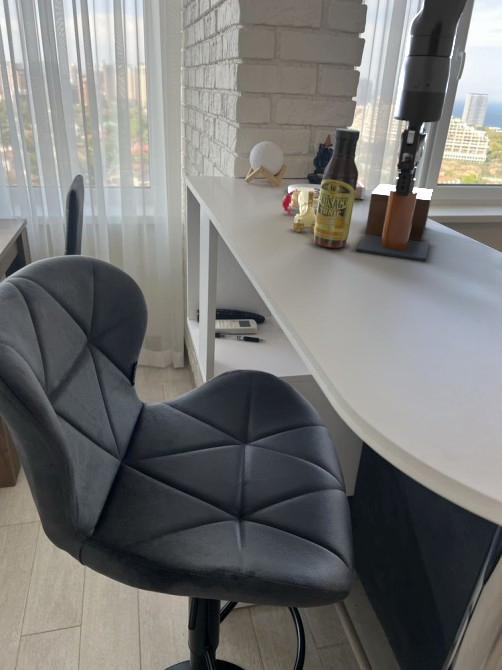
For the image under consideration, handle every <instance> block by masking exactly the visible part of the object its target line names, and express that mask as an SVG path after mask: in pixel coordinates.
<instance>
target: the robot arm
mask: <svg viewBox="0 0 502 670" xmlns="http://www.w3.org/2000/svg"><path fill="white" fill-rule="evenodd" d="M467 2H468V0H423V3H422V6H421V9H420V11H419V12H418V13H417V14H416V15H415V16H414V17H413V18H412V21H411V23H410V26H409V31H408V36H407V42H406V48H405V54H404V55H405V57H404V60H403V63H402V68H401V72H400V76H399V84H398V89H397V93H396V94H397V95H396V102H395V107H394V114H393V117H394V119H395V120H396V121H401V122H406V123H407V125H406V126H407V127H406V129H404V130H403V131H402V132H401V134H400V138H399V144H400V145H399V148H398V149H399V150H398V155H397V156H398V157H397V159H398V161H397V164H396V167H397V172H398V174H397V177H398V180H397V185H396V191H395V194H396V195H399V196H408V194H409V191H410V185H411V180H412V178H414V179H416V178H415V177H416V172H417V169H418V167H419V164H420V160H421V158H422V156H423V152H424V146H425V145H426V142H427V137H428V133H426V130H427V129H426V126H425V123H439V122H440V121H441V120H442V116H443V111H444V105H445V100H446V97H447V92H448V91H447V90H448V85H449V80H450V74H451V63H452V56H453V52H454V46H455V41H456V35H457V29H458V26H459V23H460V20H461V18H462V16H463V14H464V11H465V8H466V6H467Z"/></svg>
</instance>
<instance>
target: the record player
mask: <svg viewBox="0 0 502 670" xmlns="http://www.w3.org/2000/svg"><path fill="white" fill-rule="evenodd" d="M294 187H307V188H314V190H317V192H316V194H315V198H319V194H318V192H319V193H320V189H321V184H315V183H295V184H290V185H288V188H287V189H288V190H287V192H288V194H290V192H292V191H293V188H294ZM365 196H366V186H365V185H364V184H363V183H362V182H361V181H357V185H356V194H355V199H356V200H364V199H365ZM355 199H354V200H355Z"/></svg>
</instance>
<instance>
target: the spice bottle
mask: <svg viewBox="0 0 502 670" xmlns="http://www.w3.org/2000/svg"><path fill="white" fill-rule="evenodd" d="M397 180H398V176H397V177H396V179H395V184H394V186H395V188H391V189H390V192H389V198H388V204H387V209H386V215H385V221H384V227H383V233H382V239H381V245H382V246H384V247H386V248H390V249H406V248H407V246H408V241H409V240H410V239H409V236H410V231H411V226H412V220H413V215H414V210H415V205H416V200H417V194H418V191H416V190H414V188H415V184H416V178H412V180H411V185H410V191H409V194H408V196H399V195H396V194H395V191H396V185H397Z"/></svg>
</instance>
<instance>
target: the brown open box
mask: <svg viewBox="0 0 502 670" xmlns="http://www.w3.org/2000/svg"><path fill="white" fill-rule="evenodd" d="M391 188H395V185H392V184H381V183H380V184H379V185H377V186H376V188H374V190H373V191H372V192H371V194H370V200H369V207H368V213H367V220H366V227H365V234H368V235H375V236H382V233H383V227H384V221H385V215H386V209H387V204H388V198H389V192H390V189H391ZM414 190H416V191H418V194H417V200H416V205H415V210H414V215H413V220H412V226H411V231H410V236H409V240H411V241H418V242H423V237H424V232H425V229H426V225H427V221H428V217H429V211H430V206H431V202H432V197H433V191H434V190H433V189H427V188H418V187H414Z"/></svg>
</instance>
